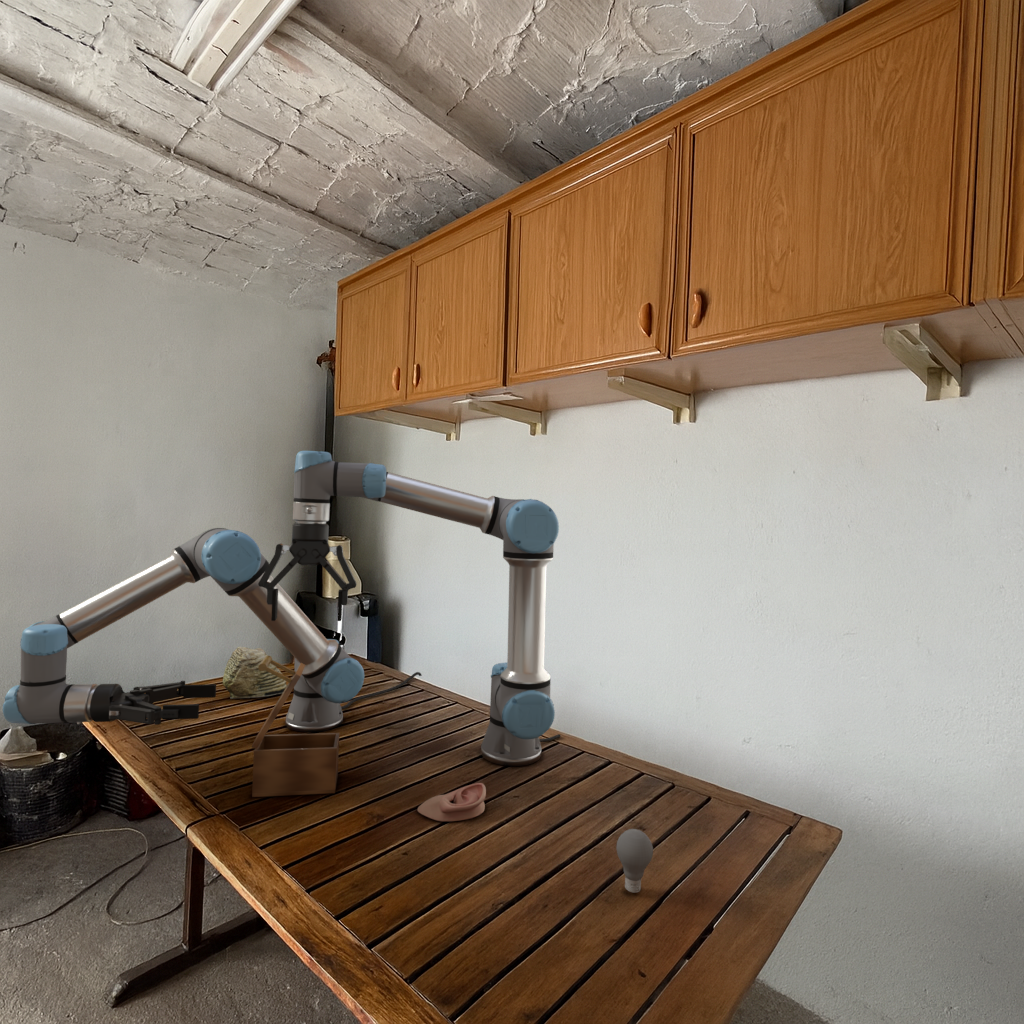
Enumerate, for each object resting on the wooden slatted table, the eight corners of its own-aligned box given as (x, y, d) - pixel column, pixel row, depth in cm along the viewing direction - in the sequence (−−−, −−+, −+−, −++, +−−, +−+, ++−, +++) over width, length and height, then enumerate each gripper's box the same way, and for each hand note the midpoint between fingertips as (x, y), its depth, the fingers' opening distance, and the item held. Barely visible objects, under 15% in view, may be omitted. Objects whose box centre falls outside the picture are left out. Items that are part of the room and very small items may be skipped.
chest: (337, 774, 145) (339, 732, 144) (334, 793, 136) (336, 748, 135) (260, 778, 141) (261, 735, 141) (252, 797, 132) (253, 751, 132)
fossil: (218, 695, 195) (220, 647, 195) (278, 685, 208) (279, 640, 207) (228, 703, 189) (230, 653, 188) (289, 692, 201) (290, 645, 201)
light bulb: (610, 879, 108) (613, 822, 108) (644, 879, 109) (647, 822, 109) (619, 902, 102) (622, 840, 102) (655, 901, 103) (658, 840, 103)
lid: (305, 665, 142) (271, 647, 141) (300, 676, 134) (263, 657, 132) (264, 733, 141) (228, 716, 139) (256, 749, 132) (218, 731, 131)
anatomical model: (412, 797, 126) (431, 773, 138) (411, 817, 126) (430, 791, 138) (476, 807, 124) (490, 781, 135) (476, 827, 124) (489, 800, 135)
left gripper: (120, 701, 142) (221, 699, 147) (65, 744, 118) (189, 740, 122) (121, 668, 142) (222, 667, 146) (67, 704, 118) (190, 701, 122)
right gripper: (246, 521, 131) (242, 622, 132) (369, 525, 136) (365, 623, 137) (253, 519, 139) (249, 616, 139) (370, 523, 144) (366, 616, 144)
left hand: (207, 700), depth 134 cm, fingers open, 13 cm apart
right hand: (307, 619), depth 138 cm, fingers open, 13 cm apart
